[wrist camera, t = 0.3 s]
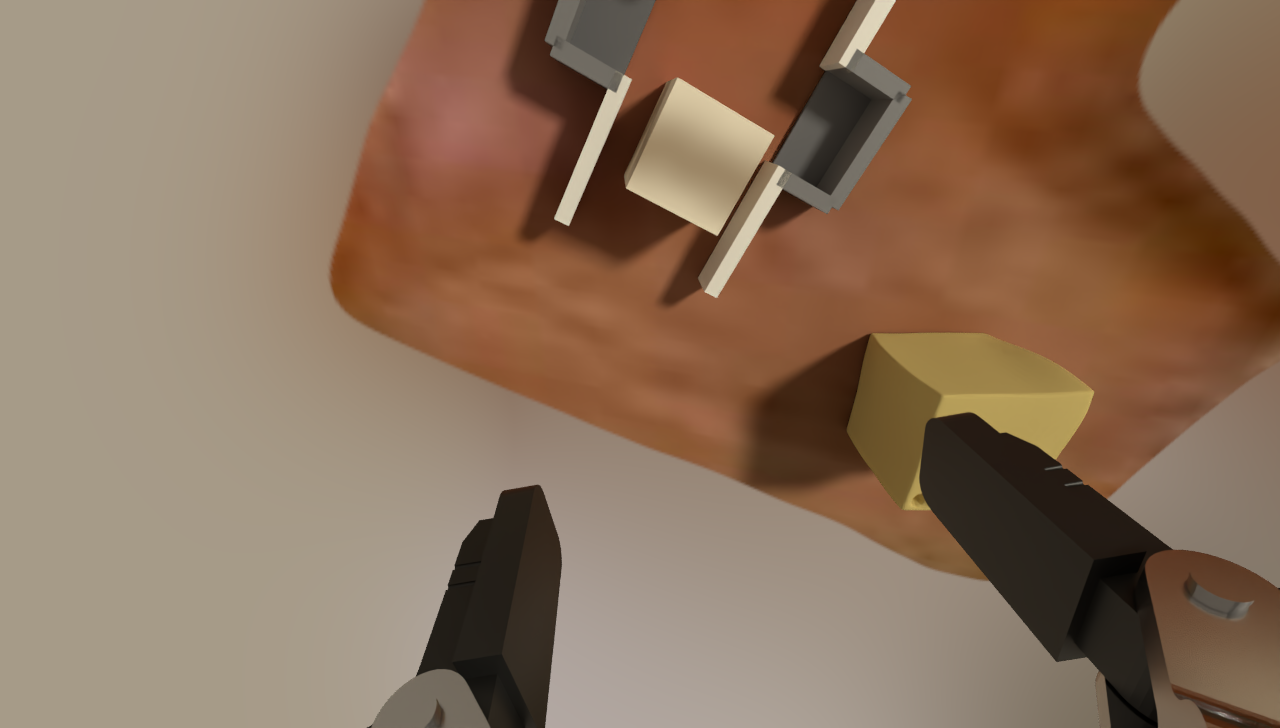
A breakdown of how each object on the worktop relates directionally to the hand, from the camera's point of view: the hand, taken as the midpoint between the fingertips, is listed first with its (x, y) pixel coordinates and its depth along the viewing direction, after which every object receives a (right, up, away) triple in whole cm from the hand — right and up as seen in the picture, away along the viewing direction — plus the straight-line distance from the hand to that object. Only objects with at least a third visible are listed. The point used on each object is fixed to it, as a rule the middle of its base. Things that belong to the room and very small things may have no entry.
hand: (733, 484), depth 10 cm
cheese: (+21, +1, +31) cm, 38 cm away
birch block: (+1, +16, +22) cm, 27 cm away
